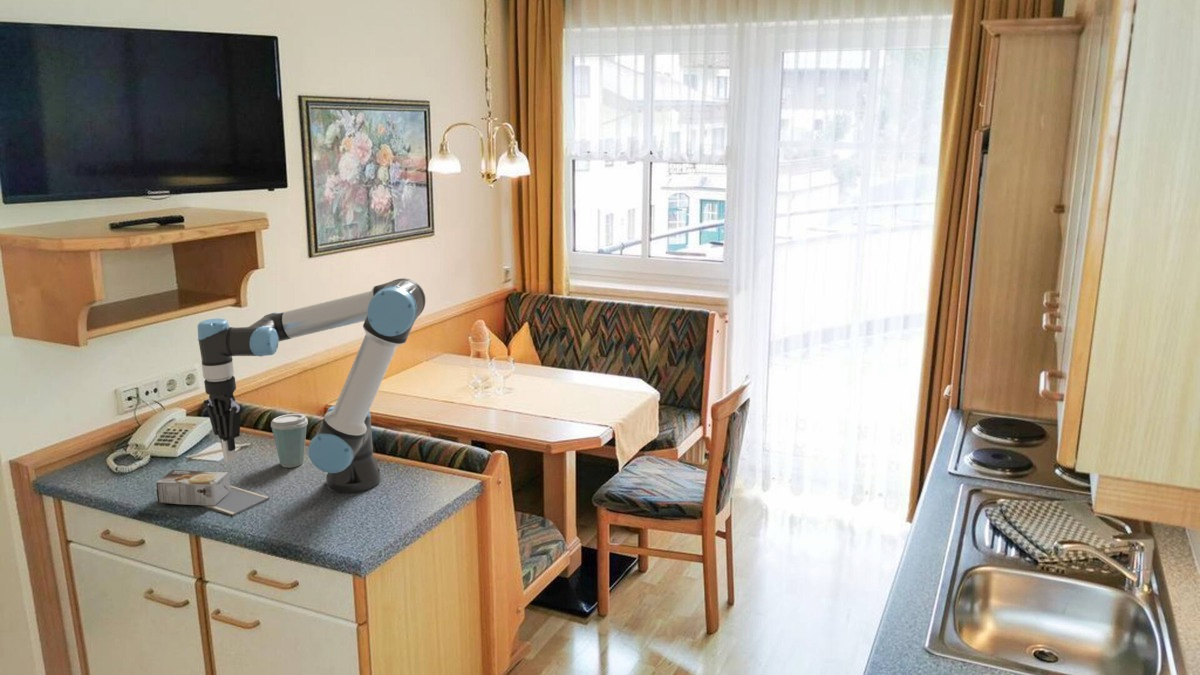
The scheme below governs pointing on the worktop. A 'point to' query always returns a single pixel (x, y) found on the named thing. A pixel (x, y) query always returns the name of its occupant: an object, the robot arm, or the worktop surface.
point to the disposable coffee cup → (290, 438)
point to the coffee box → (193, 487)
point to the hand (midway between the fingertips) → (230, 460)
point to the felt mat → (237, 501)
